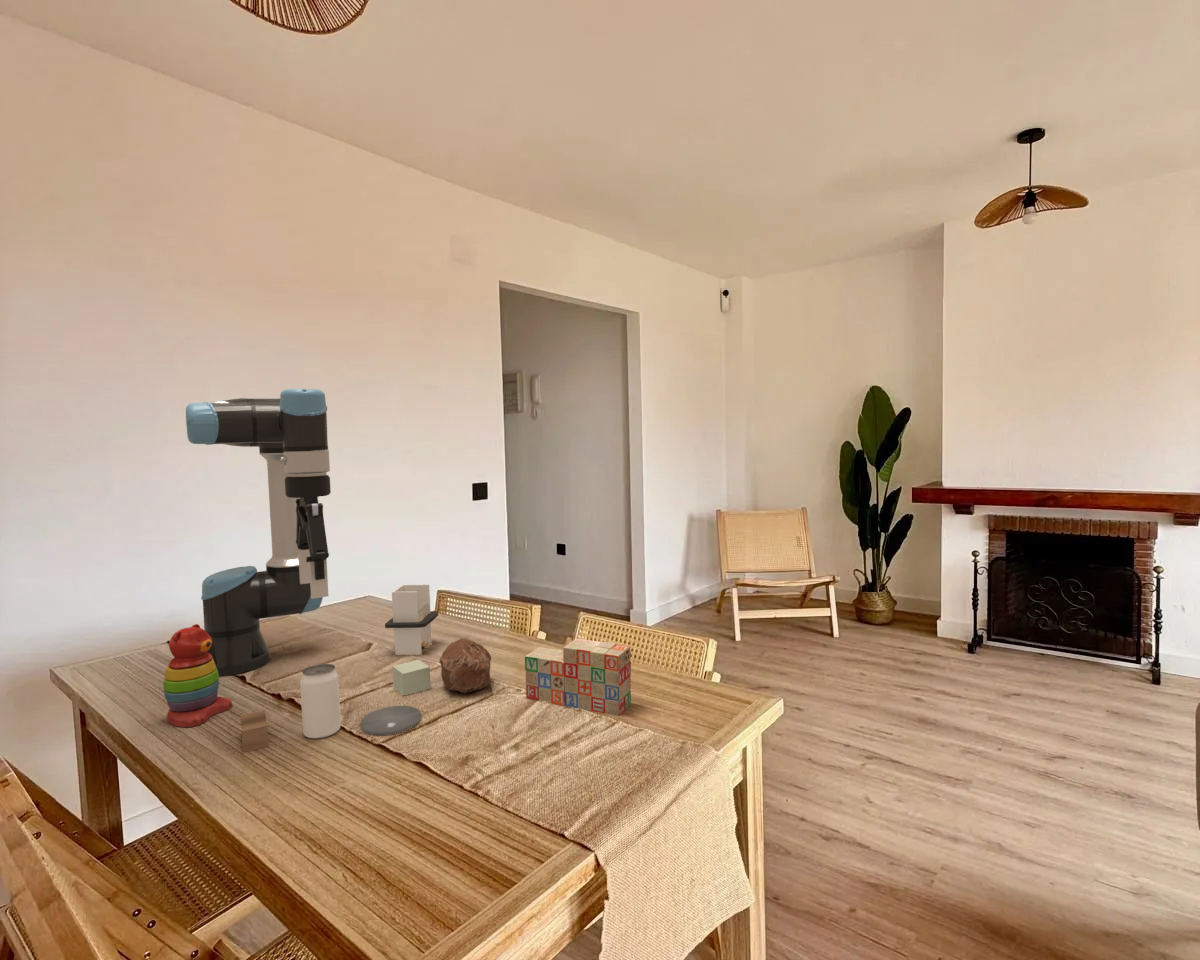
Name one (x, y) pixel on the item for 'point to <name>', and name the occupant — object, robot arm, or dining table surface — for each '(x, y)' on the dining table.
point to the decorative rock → (465, 666)
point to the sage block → (411, 677)
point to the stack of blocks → (581, 676)
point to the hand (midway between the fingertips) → (313, 589)
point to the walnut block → (254, 730)
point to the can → (320, 701)
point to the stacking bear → (192, 679)
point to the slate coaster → (390, 720)
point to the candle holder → (411, 619)
